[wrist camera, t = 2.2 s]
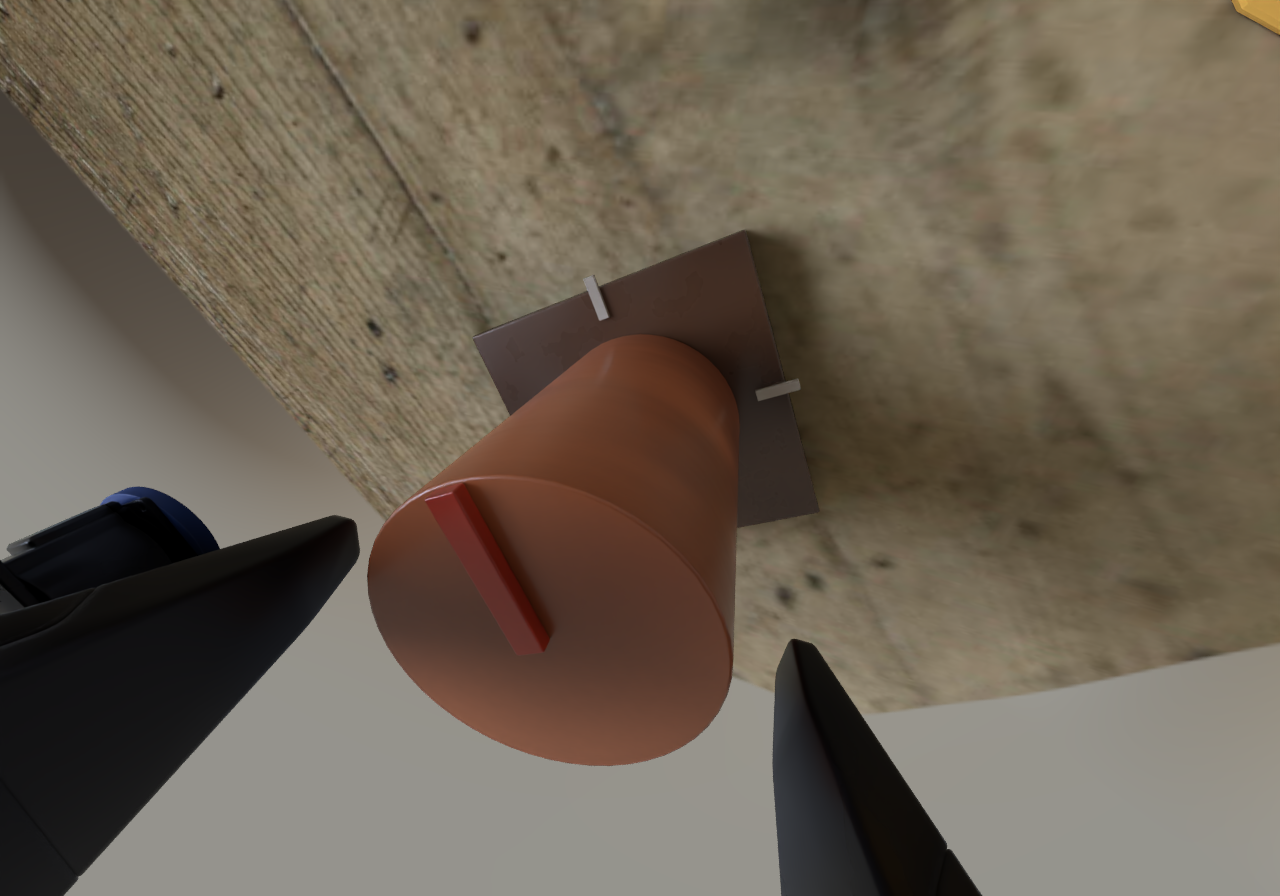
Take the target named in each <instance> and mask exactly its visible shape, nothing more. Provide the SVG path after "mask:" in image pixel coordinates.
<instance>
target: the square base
mask: <svg viewBox="0 0 1280 896" xmlns="http://www.w3.org/2000/svg"><path fill="white" fill-rule="evenodd" d="M583 280H584V282H585V285H586V287H587V290H588V291H586V292H584V293H581V294H578V295H576V296H573V297H571V298H568V299H566V300H563V301H561V302H558V303H555V304H553V305H550V306H548V307H545V308H543V309H540V310H538V311H535V312H533V313H530V314H527V315H525V316H522V317H520V318H517V319H515V320H512V321H510V322H507V323H505V324H502V325H499V326H497V327H494V328H492V329H490V330H487V331H485V332H482V333H480V334H477V335H475V336H473V340H474V342H475V344H476V346H477V348H478V350H479V353H480V355H481V357H482V359H483V361H484V363H485V365H486V367H487V369H488V371H489V373H490V375H491V377H492V379H493V381H494V383H495V385H496V387H497V389H498V391H499V393H500V396H501V398H502V400H503V402H504V404H505V406H506V408H507V410H508V412H509V414H510V416H511V415H512V414H513V413H515V412H516V411H517V410H518V409H519V408H521V407H522V406H523V405H524V404H526V403H527V402H528V401H529V400H531V399H532V398H533V397H534V396H535V395H537V394H538V393H539V392H540V391H542V390H543V389H544V388H545V387H547V386H548V385H549V384H550V383H551V382H553V381H554V380H555V379H556V378H558V377H559V376H560V375H561V374H562V373H564V372H565V371H566V370H567V369H569V368H570V367H571V366H572V365H574V364H575V363H576V362H577V361H578V360H580V359H581V358H582V357H583V356H585V355H586V354H587V353H588V352H590V351H591V350H592V349H594V348H596V347H597V346H599V345H600V344H602V343H605V342H607V341H609V340H612V339H615V338H619V337H622V336H628V335H636V334H649V335H657V336H663V337H667V338H670V339H674V340H677V341H679V342H681V343H684V344H686V345H688V346H690V347H691V348H693V349H695V350H696V351H698V352H699V353H701V354H702V355H703V356H705V357H706V358H707V359H708V360H709V361H710V362H711V363H712V364H713V365H714V366H715V367H716V368H717V369H718V370H719V371H720V373H721V374H722V375H723V377H724V378H725V379H726V381H727V383H728V385H729V387H730V388H731V390H732V393H733V395H734V398H735V401H736V404H737V408H738V413H739V423H740V432H739V469H738V505H737V528H739V527H744V526H749V525H755V524H760V523H765V522H770V521H776V520H781V519H786V518H791V517H797V516H802V515H807V514H812V513H818V512H819V507H818V503H817V499H816V495H815V491H814V487H813V484H812V480H811V476H810V472H809V468H808V465H807V461H806V457H805V453H804V449H803V446H802V442H801V438H800V434H799V430H798V427H797V423H796V419H795V415H794V411H793V408H792V404H791V400H790V396H789V393H790V392H794V391H797V390H801V387H800V383H799V379H798V378H797V379H793V380H790V381H785V377H784V373H783V369H782V366H781V362H780V358H779V354H778V350H777V347H776V343H775V339H774V335H773V331H772V328H771V324H770V320H769V316H768V312H767V308H766V305H765V301H764V297H763V293H762V289H761V286H760V282H759V278H758V274H757V270H756V267H755V263H754V259H753V255H752V251H751V248H750V244H749V240H748V236H747V232H746V230H741V231H739V232H736V233H734V234H731V235H729V236H726V237H724V238H721V239H719V240H716V241H713V242H711V243H708V244H706V245H703V246H701V247H698V248H696V249H693V250H691V251H688V252H685V253H683V254H680V255H678V256H675V257H673V258H670V259H668V260H665V261H662V262H660V263H657V264H655V265H652V266H650V267H647V268H645V269H642V270H640V271H637V272H634V273H632V274H629V275H627V276H624V277H622V278H619V279H617V280H614V281H612V282H609V283H606V284H604V285H601V286H598V283H597V281H596V278H595V275H592V276H589V277H587V278H584V279H583Z"/></svg>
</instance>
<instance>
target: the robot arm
mask: <svg viewBox="0 0 1280 896" xmlns="http://www.w3.org/2000/svg"><path fill="white" fill-rule="evenodd" d="M7 551H8V552H10V554H11V556H10V557H7V558H5V559H3V560H0V896H64V894H65V893H66V892H67V891H68V890H69V889H70V888H71V887H72V886H73V885H74V883H75V882H76V881H77V880H78V876H81V875H82V874H83V873H84V872H85V871H86V870H87V869H88V868H89V867H90V865H91V864H92V863H93V862H94V861H95V860H96V859H97V858H98V856H100V854H101V853H102V852H103V851H104V850H105V849H106V848H107V847H108V846H109V844H110V843H111V842H112V841H113V840H114V839H115V838H116V837H117V836H118V835H119V834H120V832H121V831H122V830H123V829H124V828H125V827H126V826H127V825H128V824H129V822H130V821H131V820H132V819H133V818H134V817H135V816H136V815H137V814H138V813H139V811H140V810H141V809H142V808H143V807H144V806H145V805H146V804H147V803H148V802H149V800H150V799H151V798H152V797H153V796H154V795H155V794H156V793H157V792H158V791H159V789H160V788H161V787H162V786H163V785H164V784H165V783H166V782H167V781H168V779H169V778H170V777H171V776H172V775H173V774H174V773H175V772H176V771H177V770H178V769H179V767H180V766H181V765H182V764H183V763H184V762H185V761H186V759H188V758H189V756H190V755H191V754H192V753H193V752H194V751H195V750H196V749H197V748H198V746H199V745H200V744H201V743H202V742H203V741H204V740H205V739H206V738H207V737H208V735H209V734H210V733H211V732H212V731H213V730H214V729H215V728H216V727H217V726H218V724H219V723H220V722H221V721H222V720H223V719H224V718H225V717H226V716H227V715H228V713H229V712H230V711H231V710H232V709H233V708H234V707H235V706H236V705H237V704H238V702H239V701H240V700H241V699H242V698H243V697H244V696H245V695H246V694H247V693H248V691H249V690H250V689H251V688H252V687H253V686H254V685H255V684H256V683H257V681H258V680H259V679H260V678H261V677H262V676H263V675H264V674H265V673H266V671H267V670H268V669H269V668H270V667H271V666H272V665H273V664H274V663H275V662H276V661H277V659H278V658H279V657H280V656H281V655H282V654H283V653H284V652H285V651H286V649H287V648H288V647H289V646H290V645H291V644H292V643H293V642H294V641H295V640H296V638H297V637H298V636H299V635H300V634H301V633H302V632H303V630H304V629H305V628H306V627H307V626H308V625H309V624H310V622H311V621H312V620H313V618H314V617H315V616H316V615H317V613H318V612H319V611H320V609H321V608H322V607H323V605H324V604H325V603H326V601H327V600H328V599H329V597H330V596H331V595H332V594H333V592H334V591H335V590H336V588H337V587H338V586H339V584H340V583H341V581H342V580H343V579H344V578H345V576H346V575H347V573H348V572H349V571H350V570H351V568H352V567H353V566H354V564H355V563H356V561H357V559H358V557H359V553H360V548H359V540H358V533H357V526H356V523H355V522H354V520H352V519H349V518H345V517H341V516H336V515H333V516H329V517H325V518H322V519H319V520H315V521H312V522H309V523H306V524H302V525H299V526H296V527H292V528H289V529H286V530H282V531H279V532H276V533H272V534H270V535H266V536H263V537H259V538H256V539H252V540H249V541H246V542H243V543H239V544H236V545H233V546H229V547H226V548H223V549H219V550H216V551H213V552H209V553H206V554H203V555H199V556H198V555H197V553H196V552H195V551H194V550H193V548H192V547H191V546H190V545H189V544H188V542H187V541H186V540H185V539H184V538H183V536H182V535H181V534H180V533H179V532H178V530H177V529H176V528H175V527H174V526H173V524H172V523H171V522H170V521H169V519H168V518H167V517H166V516H165V515H164V513H163V512H162V511H161V510H160V509H159V507H158V506H157V505H156V504H155V503H154V502H153V501H152V500H151V499H150V498H148V497H143V498H140V499H137V500H134V501H131V502H129V503H126V504H123V505H121V504H120V503H119V502H115V501H111V502H108V503H105V504H103V505H100V506H97V507H94V508H92V509H89V510H87V511H85V512H83V513H80V514H78V515H76V516H73V517H71V518H69V519H66V520H64V521H62V522H59V523H57V524H55V525H53V526H50V527H48V528H46V529H43V530H41V531H39V532H36V533H34V534H32V535H29V536H27V537H25V538H23V539H21V540H18V541H16V542H13V543H11V544H9V545H8V547H7ZM773 782H774V796H775V810H776V825H777V838H778V853H779V868H780V882H781V896H982V895H981V893H980V892H979V890H978V889H977V888H976V886H975V884H974V883H973V882H972V880H971V879H970V877H969V876H968V874H967V873H966V871H965V870H964V868H963V867H962V865H961V864H960V862H959V861H958V859H957V858H956V856H955V855H954V853H953V852H952V851H951V850H950V849H947V843H946V841H945V840H944V838H943V837H942V835H941V834H940V832H939V831H938V829H937V828H936V826H935V825H934V823H933V822H932V820H931V819H930V817H929V816H928V814H927V813H926V811H925V810H924V809H923V807H922V806H921V804H920V802H919V801H918V799H917V798H916V797H915V795H914V793H913V792H912V790H911V789H910V788H909V786H908V785H907V783H906V782H905V780H904V779H903V777H902V775H901V774H900V773H899V771H898V769H897V768H896V766H895V765H894V764H893V762H892V761H891V759H890V757H889V756H888V754H887V753H886V751H885V750H884V749H883V747H882V745H881V744H880V742H879V741H878V740H877V738H876V736H875V735H874V733H873V732H872V730H871V729H870V728H869V726H868V724H867V723H866V721H865V720H864V718H863V717H862V715H861V714H860V712H859V711H858V709H857V708H856V706H855V705H854V703H853V702H852V700H851V699H850V697H849V696H848V694H847V693H846V691H845V690H844V688H843V687H842V685H841V684H840V682H839V681H838V679H837V678H836V676H835V675H834V673H833V672H832V670H831V669H830V667H829V666H828V664H827V663H826V661H825V660H824V658H823V657H822V655H821V654H820V652H819V651H818V649H817V648H816V647H815V646H814V645H813V644H812V643H809V642H805V641H801V640H798V639H791V640H790V641H789V643H788V645H787V647H786V649H785V652H784V654H783V656H782V659H781V661H780V663H779V665H778V668H777V672H776V680H775V706H774V732H773Z"/></svg>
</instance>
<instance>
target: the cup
mask: <svg viewBox="0 0 1280 896" xmlns="http://www.w3.org/2000/svg"><path fill="white" fill-rule="evenodd" d="M1232 2H1233V4H1234V7H1235V9H1236V11H1237V12H1239V13H1241V14H1243V15H1244V16H1246V17H1248V18H1250V19H1252V20H1253V21H1255V22H1257V23H1259V24H1261V25H1262V26H1264V27H1266V28H1268V29H1270V30H1271V31H1273V32H1275V33H1277V34H1279V35H1280V0H1232Z"/></svg>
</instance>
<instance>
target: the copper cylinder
mask: <svg viewBox="0 0 1280 896" xmlns="http://www.w3.org/2000/svg"><path fill="white" fill-rule="evenodd" d="M739 432H740V423H739V413H738V408H737V404H736V401H735V398H734V395H733V393H732V390H731V388H730V387H729V385H728V383H727V381H726V379H725V378H724V377H723V375H722V374H721V373H720V371H719V370H718V369H717V368H716V367H715V366H714V365H713V364H712V363H711V362H710V361H709V360H708V359H707V358H706V357H705V356H703V355H702V354H701V353H699V352H698V351H696V350H695V349H693V348H691V347H690V346H688V345H686V344H684V343H681V342H679V341H677V340H674V339H670V338H667V337H663V336H657V335H649V334H636V335H628V336H622V337H619V338H615V339H612V340H609V341H607V342H605V343H602V344H600V345H599V346H597V347H596V348H594V349H592V350H591V351H590V352H588V353H587V354H586V355H585V356H583V357H582V358H581V359H580V360H578V361H577V362H576V363H575V364H574V365H572V366H571V367H570V368H569V369H567V370H566V371H565V372H564V373H562V374H561V375H560V376H559V377H558V378H556V379H555V380H554V381H553V382H551V383H550V384H549V385H548V386H547V387H545V388H544V389H543V390H542V391H540V392H539V393H538V394H537V395H535V396H534V397H533V398H532V399H531V400H529V401H528V402H527V403H526V404H524V405H523V406H522V407H521V408H519V409H518V410H517V411H516V412H515V413H513V414H512V415H511V416H510V417H508V418H507V419H506V420H505V421H503V422H502V423H501V424H500V425H499V426H497V427H496V428H495V429H494V430H492V431H491V432H490V433H489V434H488V435H486V436H485V437H484V438H483V439H481V440H480V441H479V442H478V443H476V444H475V445H474V446H473V447H472V448H470V449H469V450H468V451H467V452H465V453H464V454H463V455H462V456H460V457H459V458H458V459H457V460H456V461H454V462H453V463H452V464H451V465H449V466H448V467H447V468H446V469H444V470H443V471H442V472H441V473H440V474H438V475H437V476H436V477H435V478H433V479H432V480H431V481H430V482H429V483H427V484H426V485H425V486H424V487H422V488H421V489H420V490H419V491H417V492H416V493H415V494H414V495H413V496H411V497H410V498H409V499H408V500H406V501H405V502H404V503H403V504H402V505H400V506H399V507H398V508H397V509H396V510H395V511H394V512H393V513H392V514H391V516H390V517H389V518H388V519H387V521H386V522H385V523H384V525H383V526H382V528H381V530H380V532H379V534H378V536H377V537H376V539H375V542H374V545H373V548H372V551H371V555H370V558H369V565H368V574H367V578H368V595H369V599H370V604H371V609H372V613H373V615H374V618H375V621H376V624H377V627H378V629H379V631H380V633H381V635H382V637H383V639H384V641H385V643H386V645H387V647H388V648H389V650H390V651H391V653H392V654H393V656H394V657H395V659H396V661H397V662H398V663H399V665H400V666H401V667H402V668H403V670H404V671H405V672H406V673H407V675H408V676H409V677H410V678H411V679H412V680H413V681H414V682H415V683H416V684H417V686H418V687H419V688H420V689H421V690H422V691H423V692H424V693H425V694H427V695H428V696H429V697H430V698H431V699H432V700H433V701H435V702H436V703H437V704H438V705H439V706H441V707H442V708H443V709H444V710H446V711H447V712H449V713H450V714H451V715H452V716H454V717H455V718H457V719H458V720H460V721H461V722H463V723H465V724H466V725H468V726H469V727H471V728H472V729H474V730H476V731H478V732H480V733H481V734H483V735H485V736H487V737H489V738H491V739H493V740H495V741H498V742H500V743H502V744H504V745H507V746H509V747H511V748H514V749H517V750H520V751H522V752H525V753H528V754H531V755H535V756H538V757H542V758H546V759H550V760H554V761H560V762H565V763H571V764H580V765H589V766H590V765H591V766H592V765H593V766H613V765H626V764H633V763H638V762H643V761H648V760H651V759H654V758H658V757H661V756H664V755H666V754H668V753H671V752H673V751H675V750H677V749H679V748H681V747H683V746H684V745H686V744H687V743H689V742H690V741H692V740H693V739H695V738H696V737H697V736H698V735H699V734H700V733H702V732H703V730H705V729H706V728H707V727H708V726H709V725H710V723H711V722H712V721H713V719H714V718H715V717H716V715H717V714H718V713H719V711H720V709H721V707H722V705H723V703H724V701H725V699H726V697H727V694H728V690H729V687H730V683H731V679H732V670H733V651H734V615H735V578H736V542H737V505H738V469H739Z"/></svg>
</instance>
